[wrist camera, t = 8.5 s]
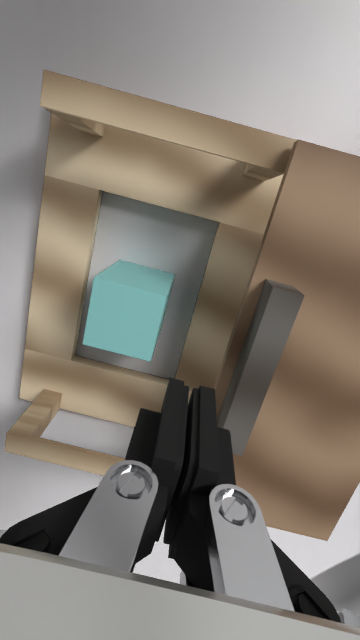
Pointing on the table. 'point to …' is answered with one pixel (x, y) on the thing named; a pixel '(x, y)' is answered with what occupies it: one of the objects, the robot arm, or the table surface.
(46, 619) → the robot arm
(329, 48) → the table surface
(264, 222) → the light wood slatted frame
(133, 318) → the teal block
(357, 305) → the walnut lid
